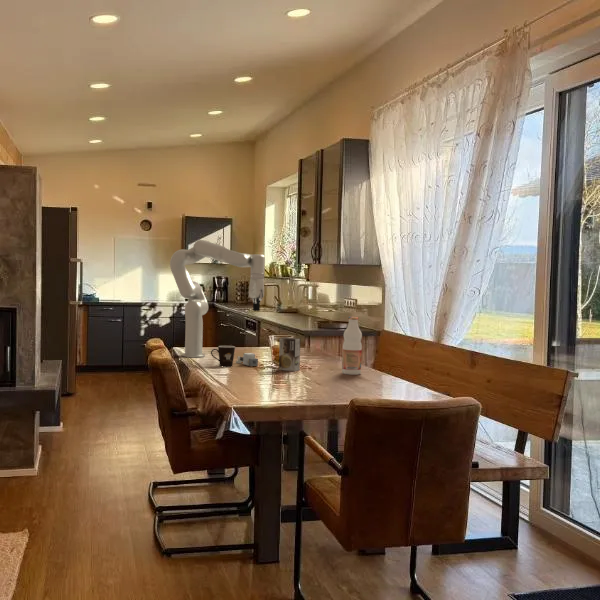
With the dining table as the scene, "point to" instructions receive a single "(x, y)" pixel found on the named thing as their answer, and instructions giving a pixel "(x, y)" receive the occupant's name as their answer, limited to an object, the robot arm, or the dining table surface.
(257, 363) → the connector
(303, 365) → the dining table surface
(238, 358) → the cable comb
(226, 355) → the coffee mug
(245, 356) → the white cube on rod
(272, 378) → the dining table surface
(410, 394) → the dining table surface
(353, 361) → the fruit juice
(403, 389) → the dining table surface
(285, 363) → the coffee box
